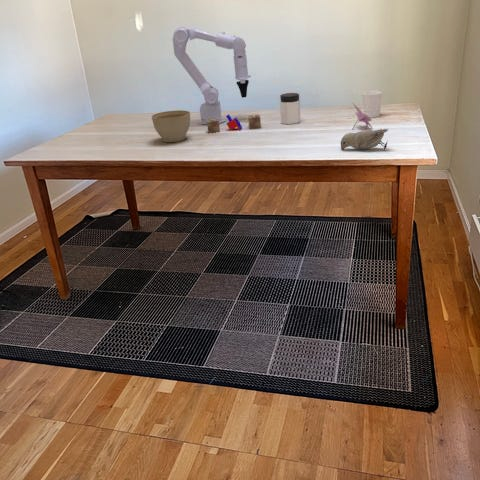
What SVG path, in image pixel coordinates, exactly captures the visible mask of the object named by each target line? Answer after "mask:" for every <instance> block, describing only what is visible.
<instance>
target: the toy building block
mask: <svg viewBox="0 0 480 480" xmlns="http://www.w3.org/2000/svg"><path fill="white" fill-rule="evenodd" d="M225 117H226V118H227V120H228V122H227V123H226V126H227V127H228V129H229V131H230V130H231V131H232V130H234V129H236V128H237V130H238V131H240V130H241V129H242V128H243V125H242V124H241V122H240V121H239V119H238V117H234V118H232V117H231V116H230V114H227V115H225Z"/></svg>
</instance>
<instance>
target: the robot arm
mask: <svg viewBox="0 0 480 480" xmlns="http://www.w3.org/2000/svg"><path fill="white" fill-rule="evenodd" d="M195 39H198V40H204V41H208V42H212V43H214V44H215V46H216V47H220V48H222V49H227V50H233V64H234V72H235V73H234V74H235V77H234V78H235V80H237V81H236V85H237V87H238V90H239V92H240V93H239V94H240V96H241V98H247V94H248V86H249V83H250V81H249V79H250V78H251V77H252V75H249V71H248V62H247V61H248V60H247V54H246V52H247V51H246V46H247V45H246V42H245V40H244V38H242V37H240V36H237V35H235V34H233V35H231V34H226V32H225V31H222V32H218V33H216V34H214V33H212V32H209V31H204V30H200V29H197V28H193V27H185V26H180V27H178V28H176V29H175V30H174V32H173V36H172V45H173V55H174V56H175V58H176V59H177V60H178V62H179V63H180V65H182V67H183V68H184V70H185V71H186V73H188V75H189V77H191V79H192V80H193V82H194V83H195V84H196V85H197V88H199V90H200V92H201V94H202V95H203V97H204V103H202V104H201V105H200V107H199V113H200V114H199V115H200V123H199V124H201V125H207V120H209V119H219V125H220V124H222V123H225V122H226V119H223V118H222V117H223V116H222V108H221V101H220V100H219V91H218V89H217V88H216V87H213V85H211V83H210V82H209V81H208V80H207V79H206V77H205V76H204V75H203V73H202V72H201V71H200V69H199V68H198V67H197V65H196V64H195V62H194V61H193V60H192V59H191V57H190V55H189V54H188V53H187V52H186V50H187V44H188V42H189V41H192V40H195ZM248 78H249V79H248Z"/></svg>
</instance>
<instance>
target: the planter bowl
mask: <svg viewBox="0 0 480 480" xmlns="http://www.w3.org/2000/svg"><path fill="white" fill-rule="evenodd" d="M150 117H151V120H152V123H153V128H154V129H155V132H156V133H157V134H158V135H159V136H160V137H161V140H162V142H166V143H177V142H180V141H184V140H185V139H186V135H187V133H188V131H189V129H190V125H191V112H190V111H188V110H184V109H181V110H180V109H178V110H177V109H176V110H167V111H160V112H157V113H154V114H153V115H151V116H150Z"/></svg>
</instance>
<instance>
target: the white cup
mask: <svg viewBox="0 0 480 480" xmlns="http://www.w3.org/2000/svg"><path fill="white" fill-rule="evenodd" d="M382 95H383V91H379V90H371V91H364V92H362V107H363V114H366V115H367V116H369V117H370V118H371V119H372V118H379V117H380V114H381V105H382Z"/></svg>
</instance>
